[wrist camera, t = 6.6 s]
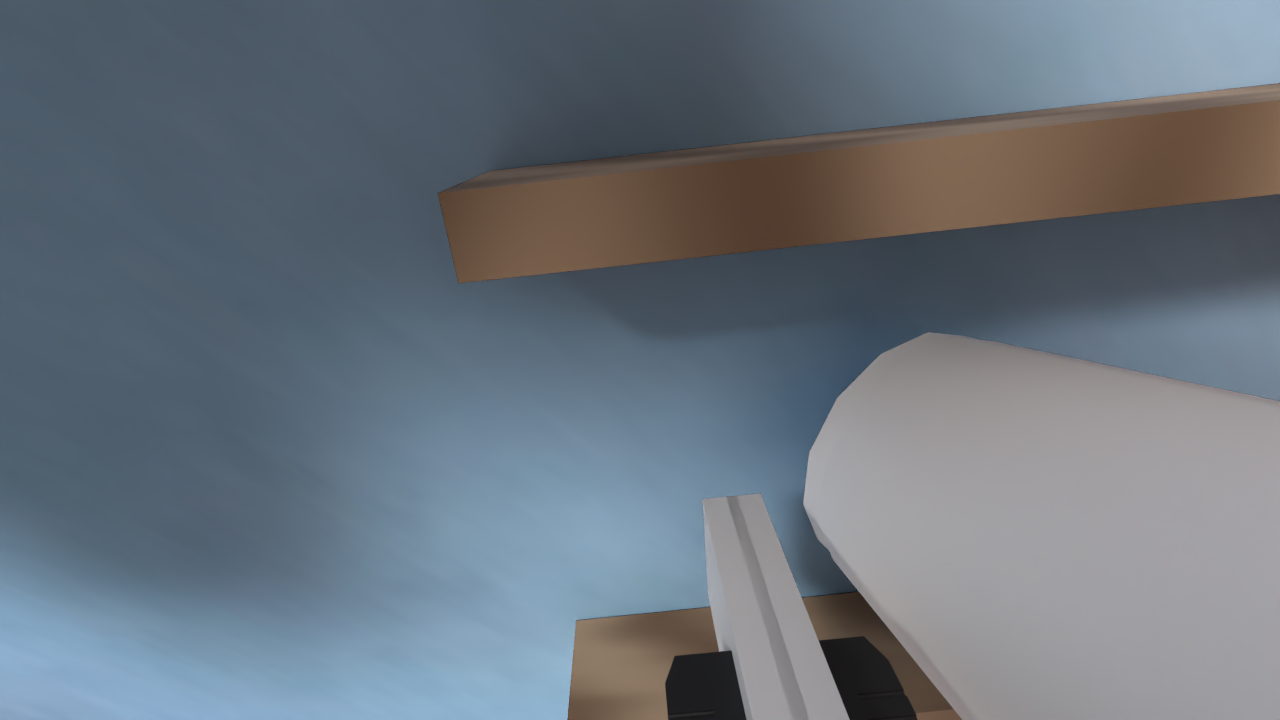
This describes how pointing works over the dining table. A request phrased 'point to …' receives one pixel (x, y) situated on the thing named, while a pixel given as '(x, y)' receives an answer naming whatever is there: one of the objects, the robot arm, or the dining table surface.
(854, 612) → the wooden frame
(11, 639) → the dining table surface
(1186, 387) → the foam cup
